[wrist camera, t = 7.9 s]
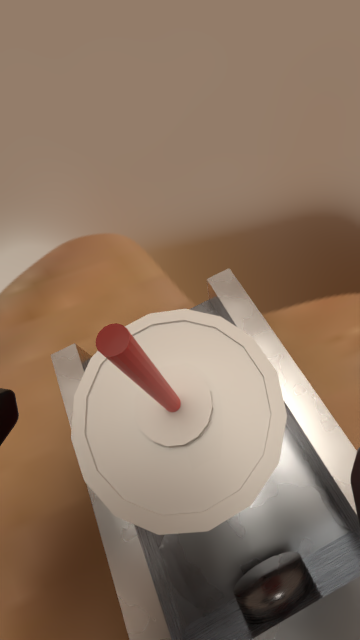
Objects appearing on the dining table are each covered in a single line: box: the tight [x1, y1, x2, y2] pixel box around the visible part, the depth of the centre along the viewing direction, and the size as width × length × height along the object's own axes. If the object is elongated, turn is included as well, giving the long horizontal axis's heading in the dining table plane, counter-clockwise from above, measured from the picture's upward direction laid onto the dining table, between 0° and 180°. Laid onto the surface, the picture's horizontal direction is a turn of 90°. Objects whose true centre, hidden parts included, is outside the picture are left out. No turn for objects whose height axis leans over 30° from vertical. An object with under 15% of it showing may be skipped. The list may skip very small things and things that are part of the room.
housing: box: [51, 269, 360, 640], centre depth 14 cm, size 18×13×5 cm
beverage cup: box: [71, 309, 287, 535], centre depth 10 cm, size 6×6×14 cm
